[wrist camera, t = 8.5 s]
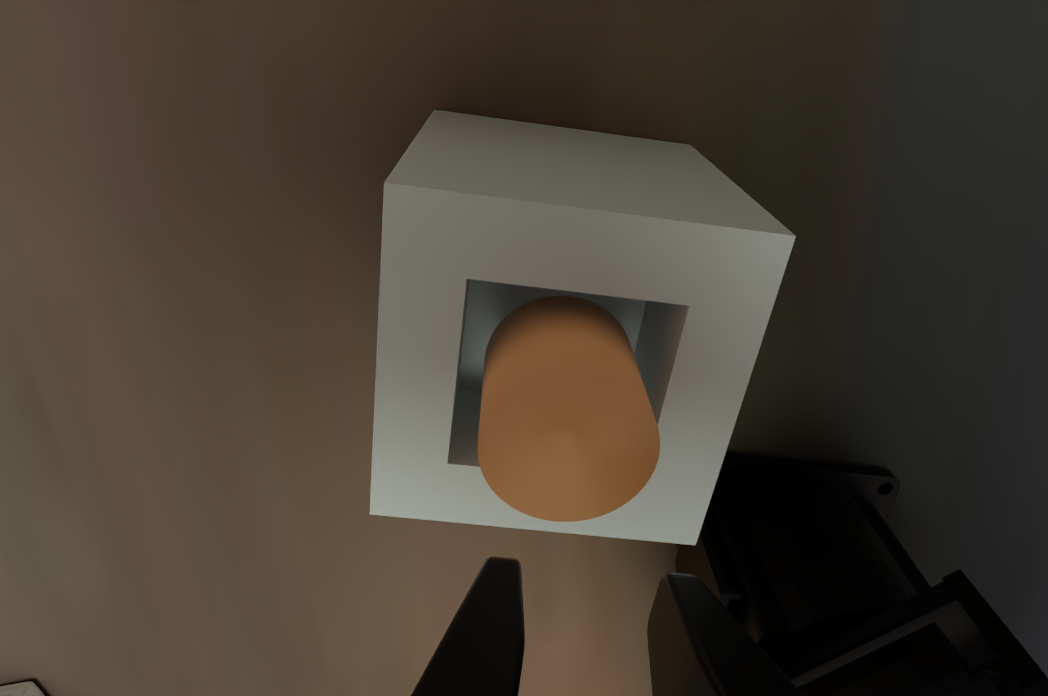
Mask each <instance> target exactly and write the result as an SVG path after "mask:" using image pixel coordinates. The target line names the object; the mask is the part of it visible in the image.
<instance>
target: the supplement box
mask: <svg viewBox="0 0 1048 696" xmlns="http://www.w3.org/2000/svg"><path fill="white" fill-rule="evenodd" d="M0 696H45V695H44V694H43V693H42V691H41V690H40V689H39V688H38V687H37V686H36V685H35V683H34V682H31V681H29V682H22V683H17V684H11V685H5V686H0Z"/></svg>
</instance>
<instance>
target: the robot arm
mask: <svg viewBox="0 0 1048 696" xmlns="http://www.w3.org/2000/svg"><path fill="white" fill-rule="evenodd" d="M726 467H733V468H732V469H731V470H729V471H725V472H724V471H723V469H724V468H726ZM883 483H886V484H885V485H884V486H882V487H879V486H880V485H882V484H883ZM899 489H900V483H899V481H898V480H897V479H896V477H895V476H894V475H893V474H892V473H891V472H890V471H887V470H881V469H872V468H862V467H853V466H843V465H834V464H824V463H815V462H805V461H796V460H786V459H777V458H767V457H758V456H749V455H739V454H725V456H724V460H723V463H722V466H721V469H720V472H719V475H718V478H717V481H716V484H715V487H714V490H713V493H712V497H711V500H710V503H709V506H708V509H707V512H706V515H705V518H704V521H703V524H702V527H701V530H700V534H699V537H698V540H697V543H696V545H686V544H680V548H679V551H678V554H677V557H676V561H675V563H676V567H677V571H678V572H677V573H666V574H664V575H663V577H662V578H661V580H660V583H659V586H658V589H657V593H656V596H655V599H654V603H653V606H652V609H651V612H650V616H649V620H648V629H647V636H648V649H649V660H650V671H651V682H652V694H653V696H1048V678H1047V676H1046V675H1045V674H1044V673H1043V671H1042V670H1041V669H1040V668H1039V666H1038V665H1037V664H1036V663H1035V661H1034V660H1033V659H1032V658H1031V656H1030V655H1029V654H1028V653H1027V651H1026V650H1025V649H1024V648H1023V646H1022V645H1021V644H1020V643H1019V641H1018V640H1017V639H1016V638H1015V636H1014V635H1013V634H1012V633H1011V632H1010V630H1009V629H1008V628H1007V627H1006V625H1005V624H1004V623H1003V622H1002V620H1001V619H1000V618H999V617H998V615H997V614H996V613H995V612H994V610H993V609H992V608H991V607H990V606H989V604H988V603H987V602H986V601H985V599H984V598H983V597H982V596H981V594H980V593H979V592H978V591H977V589H976V588H975V587H974V586H973V584H972V583H971V582H970V581H969V579H968V578H967V577H966V576H965V575H964V573H963V572H962V571H961V570H960V569H959V570H957V571H955V572H953V573H951V574H949V575H947V576H945V577H943V578H942V580H943V582H941V583H939V584H937V585H935V586H933V587H931V586H930V585H929V584H928V582H927V581H926V579H925V578H924V576H923V575H922V574H921V572H920V571H919V569H918V568H917V567H916V565H915V564H914V562H913V561H912V559H911V558H910V557H909V555H908V554H907V552H906V551H905V549H904V548H903V547H902V545H901V544H900V542H899V541H898V539H897V538H896V537H895V535H894V534H893V532H892V531H891V529H890V528H889V527H888V525H887V524H886V522H885V519H886V517H887V515H888V513H889V510H890V508H891V506H892V504H893V502H894V500H895V498H896V496H897V494H898V492H899ZM524 644H525V637H524V612H523V594H522V576H521V564H520V562H519V560H517V559H515V558H504V557H493V556H492V557H489V558H487V559H486V561H485V562H484V564H483V566H482V568H481V569H480V571H479V573H478V575H477V577H476V579H475V580H474V582H473V584H472V586H471V588H470V589H469V591H468V593H467V595H466V597H465V599H464V600H463V602H462V604H461V606H460V608H459V609H458V611H457V613H456V615H455V617H454V618H453V620H452V622H451V624H450V626H449V628H448V629H447V631H446V633H445V635H444V637H443V638H442V640H441V642H440V644H439V646H438V647H437V649H436V651H435V653H434V655H433V657H432V658H431V660H430V662H429V664H428V666H427V667H426V669H425V671H424V673H423V675H422V677H421V678H420V680H419V682H418V684H417V686H416V687H415V689H414V691H413V693H412V695H411V696H518V692H519V685H520V677H521V670H522V663H523V655H524Z"/></svg>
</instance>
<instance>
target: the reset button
mask: <svg viewBox="0 0 1048 696" xmlns="http://www.w3.org/2000/svg"><path fill="white" fill-rule="evenodd" d="M477 452H478V461H479V465H480V468H481V472H482V474H483V476H484V478H485V480H486V482H487V483H488V485H489V486H490V488H491V489H492V490H493V491H494V493H495V494H496V495H497V496H498V497H499V498H500V499H502V500H503V501H504V502H505V503H506V504H508V505H509V506H511V507H512V508H514V509H516V510H518V511H520V512H522V513H524V514H526V515H529V516H532V517H535V518H539V519H542V520H548V521H555V522H575V521H583V520H589V519H592V518H596V517H600V516H602V515H605V514H608V513H610V512H612V511H614V510H616V509H618V508H620V507H621V506H623V505H624V504H626V503H627V502H629V501H630V500H631V499H632V498H634V497H635V496H636V495H637V494H638V493H639V492H640V491H641V490H642V489H643V488H644V486H645V485H646V484H647V482H648V481H649V479H650V478H651V476H652V474H653V472H654V470H655V468H656V465H657V462H658V458H659V453H660V435H659V429H658V426H657V423H656V419H655V416H654V413H653V410H652V407H651V404H650V401H649V398H648V395H647V392H646V389H645V386H644V383H643V380H642V377H641V374H640V371H639V368H638V365H637V362H636V359H635V356H634V353H633V350H632V347H631V344H630V341H629V338H628V336H627V334H626V332H625V330H624V328H623V327H622V325H621V324H620V323H619V321H618V320H617V319H616V318H615V317H614V316H613V315H612V314H611V313H609V312H608V311H607V310H606V309H604V308H602V307H601V306H599V305H597V304H595V303H593V302H591V301H588V300H585V299H582V298H577V297H572V296H549V297H544V298H539V299H536V300H533V301H530V302H528V303H526V304H523V305H521V306H520V307H518V308H516V309H515V310H513V311H512V312H511V313H509V314H508V315H507V316H506V317H505V318H504V319H503V320H502V321H501V322H500V323H499V324H498V326H497V327H496V328H495V330H494V331H493V333H492V335H491V337H490V339H489V342H488V345H487V347H486V352H485V360H484V372H483V385H482V397H481V409H480V422H479V434H478V450H477Z"/></svg>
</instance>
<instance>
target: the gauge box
mask: <svg viewBox="0 0 1048 696" xmlns="http://www.w3.org/2000/svg"><path fill="white" fill-rule="evenodd" d="M795 238H796V236H795V235H794V234H793V233H792V232H791V231H790V230H788V229H787V228H786V227H785V226H784V225H783V224H781V223H780V222H779V221H778V220H777V219H776V218H774V217H773V216H772V215H771V214H770V213H769V212H768V211H766V210H765V209H764V208H763V207H762V206H761V205H759V204H758V203H757V202H756V201H755V200H754V199H752V198H751V197H750V196H749V195H748V194H747V193H745V192H744V191H743V190H742V189H741V188H740V187H739V186H737V185H736V184H735V183H734V182H733V181H732V180H730V179H729V178H728V177H727V176H726V175H725V174H723V173H722V172H721V171H720V170H719V169H718V168H717V167H715V166H714V165H713V164H712V163H711V162H710V161H708V160H707V159H706V158H705V157H704V156H703V155H701V154H700V153H699V152H698V151H697V150H696V149H694V148H693V147H692V146H691V145H688V144H681V143H673V142H666V141H659V140H652V139H644V138H637V137H630V136H623V135H615V134H608V133H601V132H594V131H586V130H579V129H572V128H565V127H557V126H550V125H543V124H536V123H528V122H521V121H514V120H507V119H500V118H492V117H485V116H478V115H471V114H463V113H456V112H449V111H442V110H434V111H433V112H432V113H431V115H430V116H429V118H428V119H427V121H426V122H425V124H424V125H423V127H422V128H421V129H420V131H419V132H418V134H417V135H416V137H415V138H414V140H413V141H412V143H411V144H410V145H409V147H408V148H407V150H406V151H405V153H404V154H403V156H402V157H401V159H400V160H399V162H398V163H397V164H396V166H395V167H394V169H393V170H392V172H391V173H390V175H389V176H388V178H387V179H386V180H385V182H384V195H383V218H382V241H381V264H380V287H379V310H378V333H377V356H376V380H375V403H374V426H373V449H372V472H371V495H370V514H371V515H382V516H392V517H403V518H413V519H424V520H434V521H445V522H455V523H466V524H476V525H487V526H497V527H508V528H518V529H529V530H539V531H550V532H560V533H571V534H581V535H592V536H602V537H613V538H623V539H634V540H644V541H655V542H665V543H676V544H686V545H696V543H697V540H698V537H699V534H700V530H701V527H702V524H703V521H704V518H705V515H706V512H707V509H708V506H709V503H710V500H711V497H712V493H713V490H714V487H715V484H716V481H717V478H718V475H719V472H720V469H721V466H722V463H723V460H724V456H725V453H726V450H727V447H728V444H729V441H730V438H731V435H732V432H733V429H734V426H735V423H736V420H737V416H738V413H739V410H740V407H741V404H742V401H743V398H744V395H745V392H746V389H747V386H748V383H749V379H750V376H751V373H752V370H753V367H754V364H755V361H756V358H757V355H758V352H759V349H760V346H761V343H762V339H763V336H764V333H765V330H766V327H767V324H768V321H769V318H770V315H771V312H772V309H773V306H774V302H775V299H776V296H777V293H778V290H779V287H780V284H781V281H782V278H783V275H784V272H785V269H786V266H787V262H788V259H789V256H790V253H791V250H792V247H793V244H794V241H795ZM549 296H572V297H577V298H582V299H585V300H588V301H591V302H593V303H595V304H597V305H599V306H601V307H602V308H604V309H606V310H607V311H608V312H609V313H611V314H612V315H613V316H614V317H615V318H616V319H617V320H618V321H619V323H620V324H621V325H622V327H623V328H624V330H625V332H626V334H627V336H628V338H629V341H630V344H631V347H632V350H633V353H634V356H635V359H636V362H637V365H638V368H639V371H640V374H641V377H642V380H643V383H644V386H645V389H646V392H647V395H648V398H649V401H650V404H651V407H652V410H653V413H654V416H655V419H656V423H657V426H658V429H659V435H660V453H659V458H658V462H657V465H656V468H655V470H654V472H653V474H652V476H651V478H650V479H649V481H648V482H647V484H646V485H645V486H644V488H643V489H642V490H641V491H640V492H639V493H638V494H637V495H636V496H635V497H634V498H632V499H631V500H630V501H629V502H627V503H626V504H624V505H623V506H621V507H620V508H618V509H616V510H614V511H612V512H610V513H608V514H605V515H602V516H600V517H596V518H592V519H589V520H583V521H575V522H555V521H548V520H542V519H539V518H535V517H532V516H529V515H526V514H524V513H522V512H520V511H518V510H516V509H514V508H512V507H511V506H509V505H508V504H506V503H505V502H504V501H503V500H502V499H500V498H499V497H498V496H497V495H496V494H495V493H494V491H493V490H492V489H491V488H490V486H489V485H488V483H487V482H486V480H485V478H484V476H483V474H482V472H481V468H480V465H479V461H478V452H477V450H478V434H479V422H480V409H481V397H482V385H483V372H484V360H485V352H486V347H487V345H488V342H489V339H490V337H491V335H492V333H493V331H494V330H495V328H496V327H497V326H498V324H499V323H500V322H501V321H502V320H503V319H504V318H505V317H506V316H507V315H508V314H509V313H511V312H512V311H513V310H515V309H516V308H518V307H520V306H521V305H523V304H526V303H528V302H530V301H533V300H536V299H539V298H544V297H549Z"/></svg>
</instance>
